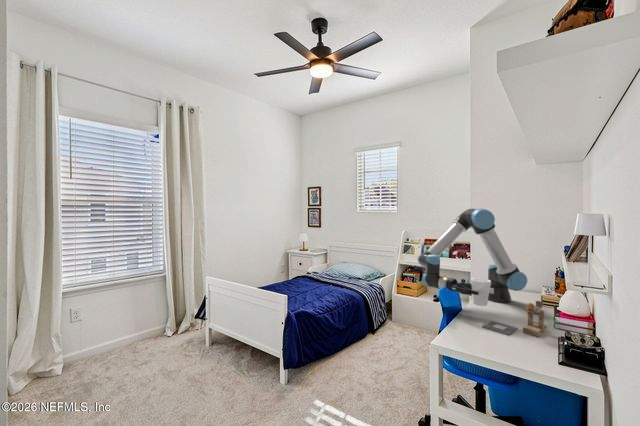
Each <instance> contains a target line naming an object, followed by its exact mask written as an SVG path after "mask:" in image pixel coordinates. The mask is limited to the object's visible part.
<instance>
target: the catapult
mask: <svg viewBox="0 0 640 426" xmlns="http://www.w3.org/2000/svg"><path fill="white" fill-rule="evenodd" d="M543 306H544V301H542V300H541V301H540V300H536V301H535V305H534V304H533V303H531V302H529V303H527V304H526V308H525V309H524V312H526V314H527V315H528V316H527V325H525V326H523V327H522V333H523V334H525V335H529V336H533V337H536V338H539V337H540V336H541V335H542V334H543V333H545V332H546V331H547V328H548V327H547V326H548V325H547V324H545V323H544V322H545V310H542V309H543ZM534 315H537V316H538V322H536V321H534Z"/></svg>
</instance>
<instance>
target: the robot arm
mask: <svg viewBox="0 0 640 426" xmlns="http://www.w3.org/2000/svg"><path fill="white" fill-rule="evenodd" d="M495 221H496V217H495V215H494V214H493V212H492V211H490V210H489V209H485V208H469V209H465V210H463V212H461V214H459V215H458V216H457V217H456V218H455V219H454V220H453V222H452V223H453V224H452V225H450V227H449V228H448V229H447V230H446V231H445V232H444V233H443V234H441V235H440V237H439V238H438V239H437V240H436V241H435V242H434V243H433V244H432V245H431V246H430V247H429V248H428V249H427V250H426V251H425V252H424V253H420V254H419V255H418V256H417V262H418V264H420V265H421V266H422V267H424V268H426V272H425V273H424V274H423V275H422V277H421V282H422V284H423V285H424V286H427V287H428V288H434V289H439V290H441V289H440V288H443V287H447V288H448V289H449V290H451V291H455V292H458V293H461V294H463V295H468V296H470V297H471V296H472V297H473V295H477V296H482V297H486V292H484V291H479V290H475V289H472V285H471V282H470V283H469V282H464V281H463V282H458V280H457V279H456V278H452V277H448V276H441V275H440V269H441V259H440V256H441V255H442V253H443V252H445V250H446V249H447V248H448V247H449V246H451V244H452V243H454V241H456V239H457V238H458V237H460V235H462V234H463V232H466V231H468V230H469V229H470V228H472V229H473V232H474V233H475V235H477V236H479V237H480V239H481V240H482V242H483V244H484V246H485V248H486V250H487V252H488V253H489V256H490V257H491V258H492V261H493V262H494V263H490V264H488V271H487V272H488V273H487V279H488V280H490V281H491V286H490V290H489V296H488V301H491V302H495V303H504V304H508V303H512V295H511V293H510V290H511V291H515V292H519V291H522V290H524V288H526V286H527V284H528V277H527V275H526V274H525V273H524V272H523V271H520V269H519V267H518V265H517V264H516V263H513V262H512V260H511V258H510V256H509V255H508V252H507V251H506V249H505V247H504V246H503V243H502V241H501V239H500V238H499V237H498V234H497V233H496V231H495V228H496V224H495ZM451 291H450V292H451Z"/></svg>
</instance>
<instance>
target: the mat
mask: <svg viewBox="0 0 640 426" xmlns="http://www.w3.org/2000/svg"><path fill="white" fill-rule="evenodd" d="M482 328H484V329H487V330H489V331H493V332H496V333H500V334H501V335H502V334H503V335H506V336H510V335H512V334H514V333H515V332H516V331H518V329H519V328H518V327H516V326H513V325H512V326H511V325H509V324H505V323H502V322H498V321H495V320H490V321H488V322H487V323H485V324H483V325H482Z"/></svg>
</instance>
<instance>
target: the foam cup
mask: <svg viewBox="0 0 640 426" xmlns="http://www.w3.org/2000/svg"><path fill="white" fill-rule="evenodd" d="M470 284H471V285H472V289H475V290H479V291H484V292H486V297H482V296H477V295H473V294H472V300H473V304H474V305H476V306H481V307H487V305H488V301H489V300H488V296H489V290H490V286H491V281H490V280H488V278H482V277H471V278H470Z"/></svg>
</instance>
